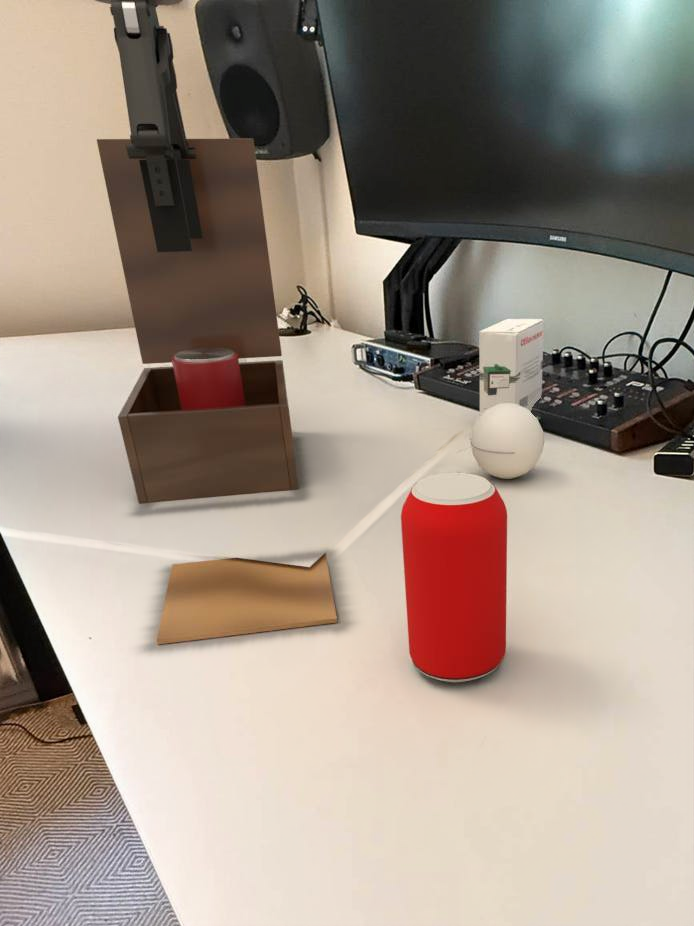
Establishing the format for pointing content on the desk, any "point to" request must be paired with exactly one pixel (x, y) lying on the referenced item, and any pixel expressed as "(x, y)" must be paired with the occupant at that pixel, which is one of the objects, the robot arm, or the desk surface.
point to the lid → (197, 256)
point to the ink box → (511, 363)
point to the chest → (209, 438)
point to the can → (208, 378)
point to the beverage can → (455, 576)
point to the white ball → (507, 440)
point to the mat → (244, 598)
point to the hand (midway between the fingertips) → (182, 244)
